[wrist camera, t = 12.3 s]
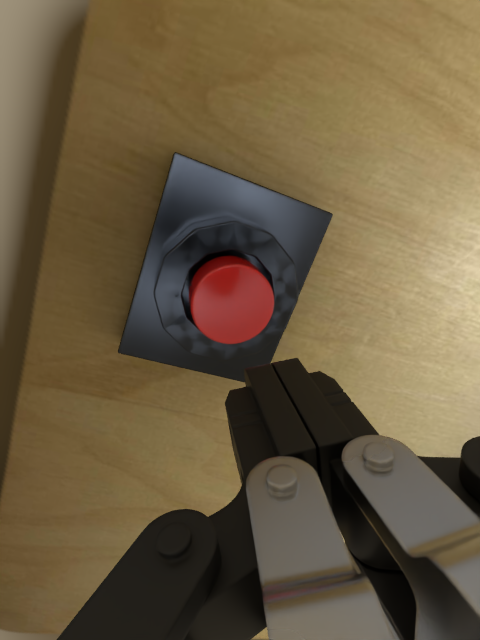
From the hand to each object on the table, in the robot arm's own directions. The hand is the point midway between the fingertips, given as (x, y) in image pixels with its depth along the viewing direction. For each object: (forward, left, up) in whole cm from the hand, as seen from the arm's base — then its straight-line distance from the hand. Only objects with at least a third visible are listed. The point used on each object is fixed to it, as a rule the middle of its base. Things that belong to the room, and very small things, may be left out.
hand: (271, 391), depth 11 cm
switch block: (0, 0, -11) cm, 11 cm away
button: (0, 0, -8) cm, 8 cm away
